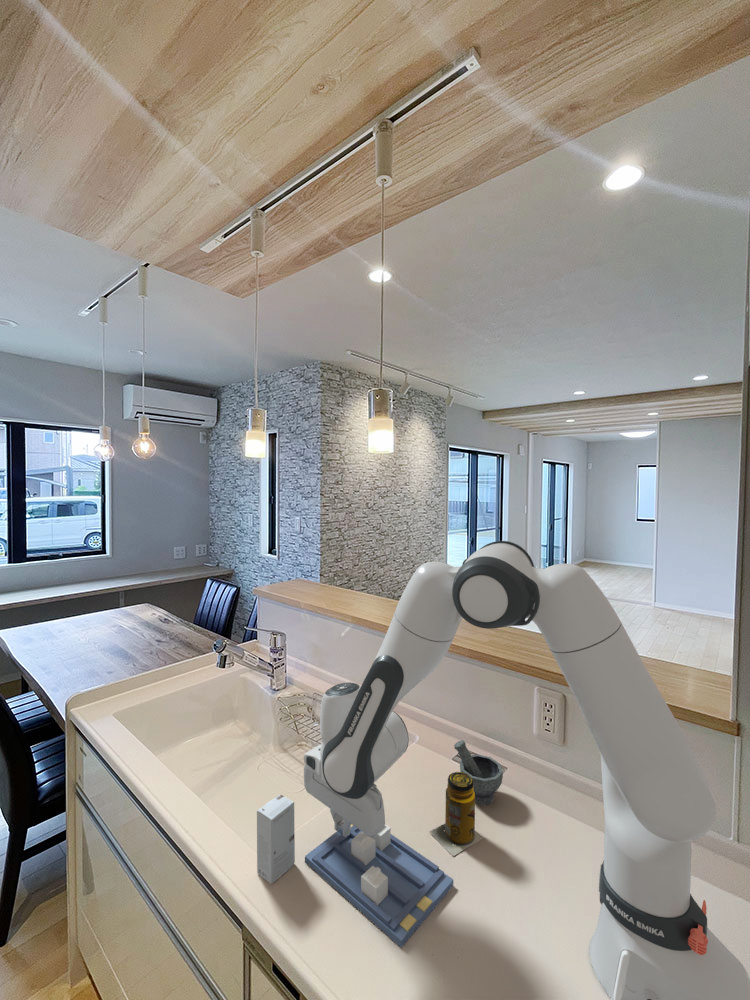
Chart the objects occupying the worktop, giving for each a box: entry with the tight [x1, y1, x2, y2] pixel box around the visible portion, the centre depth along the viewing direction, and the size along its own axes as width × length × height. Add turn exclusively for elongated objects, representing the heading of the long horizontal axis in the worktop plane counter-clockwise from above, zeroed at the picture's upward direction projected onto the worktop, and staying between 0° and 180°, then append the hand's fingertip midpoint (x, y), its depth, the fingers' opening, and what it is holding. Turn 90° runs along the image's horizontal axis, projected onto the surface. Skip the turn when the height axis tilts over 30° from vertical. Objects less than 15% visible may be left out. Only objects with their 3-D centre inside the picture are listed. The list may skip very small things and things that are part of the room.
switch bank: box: [304, 824, 454, 948], centre depth 86 cm, size 24×15×2 cm, turn 48°
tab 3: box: [361, 866, 388, 906], centre depth 80 cm, size 4×3×4 cm
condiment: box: [429, 771, 485, 857], centre depth 95 cm, size 7×8×12 cm
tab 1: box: [371, 823, 392, 851], centre depth 91 cm, size 4×3×4 cm
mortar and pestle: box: [453, 739, 504, 806], centre depth 107 cm, size 11×9×12 cm
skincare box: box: [256, 794, 296, 885], centre depth 87 cm, size 6×4×12 cm
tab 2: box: [351, 832, 376, 865], centre depth 88 cm, size 4×3×4 cm
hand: (342, 831), depth 92 cm, fingers closed
